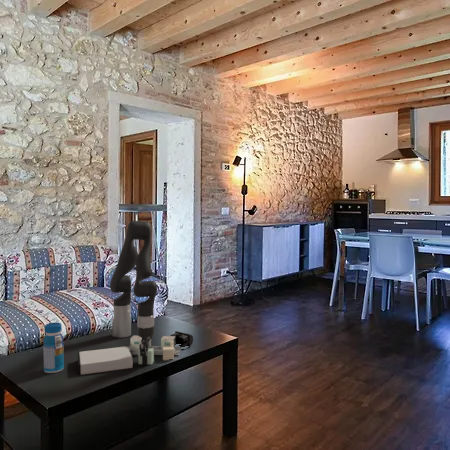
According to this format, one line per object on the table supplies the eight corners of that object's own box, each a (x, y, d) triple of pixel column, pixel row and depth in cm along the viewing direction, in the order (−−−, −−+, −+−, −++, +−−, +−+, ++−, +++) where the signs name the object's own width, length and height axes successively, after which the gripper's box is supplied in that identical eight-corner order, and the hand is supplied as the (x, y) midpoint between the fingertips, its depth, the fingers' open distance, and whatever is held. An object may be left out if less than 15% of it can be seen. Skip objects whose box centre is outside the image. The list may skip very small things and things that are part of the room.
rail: (124, 354, 201) (124, 338, 200) (129, 349, 208) (129, 334, 207) (178, 356, 199) (178, 340, 199) (180, 351, 206) (180, 335, 206)
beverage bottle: (42, 374, 177) (41, 327, 176) (44, 367, 185) (43, 322, 184) (63, 372, 179) (62, 326, 179) (65, 365, 187) (64, 321, 187)
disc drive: (77, 361, 193) (77, 351, 193) (127, 355, 201) (127, 345, 201) (78, 376, 176) (78, 364, 176) (132, 368, 184) (132, 357, 184)
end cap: (193, 346, 213) (193, 333, 213) (184, 350, 208) (184, 336, 207) (179, 342, 219) (179, 329, 219) (169, 346, 214) (169, 333, 213)
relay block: (162, 360, 193) (162, 349, 193) (163, 357, 197) (163, 346, 197) (173, 360, 194) (173, 349, 194) (174, 357, 198) (173, 346, 198)
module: (138, 364, 188) (138, 351, 188) (141, 360, 193) (140, 348, 192) (151, 364, 188) (151, 351, 188) (153, 361, 192) (153, 348, 192)
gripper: (141, 320, 197) (142, 356, 198) (133, 329, 183) (133, 367, 183) (157, 320, 197) (157, 356, 197) (150, 329, 182) (150, 368, 183)
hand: (146, 362), depth 190 cm, fingers closed on module, 4 cm apart
